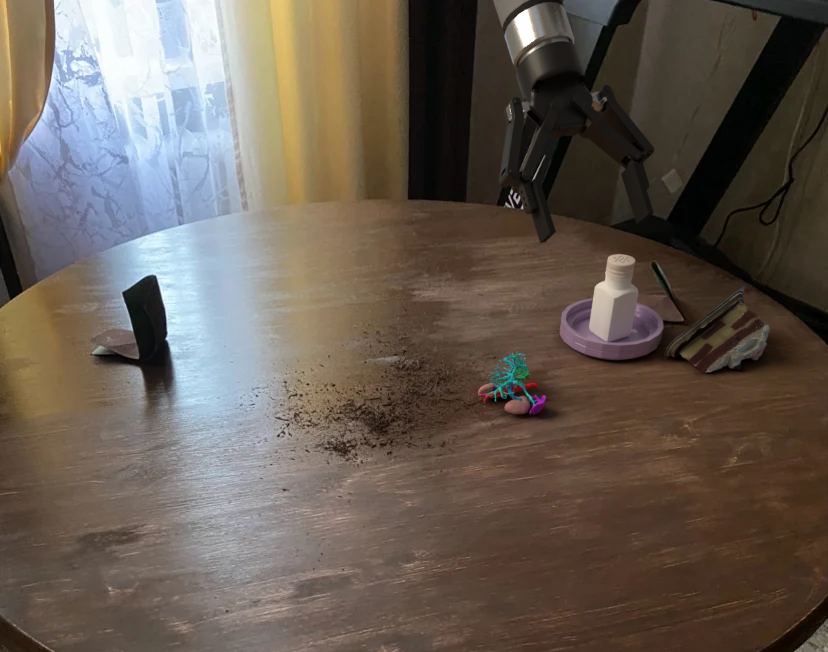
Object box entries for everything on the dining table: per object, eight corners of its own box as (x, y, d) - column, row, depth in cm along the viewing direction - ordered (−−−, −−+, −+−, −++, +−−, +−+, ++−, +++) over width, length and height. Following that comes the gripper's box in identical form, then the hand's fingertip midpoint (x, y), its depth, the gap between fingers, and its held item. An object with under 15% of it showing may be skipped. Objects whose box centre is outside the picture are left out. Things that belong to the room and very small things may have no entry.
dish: (657, 319, 107) (661, 301, 106) (661, 368, 98) (665, 348, 97) (561, 312, 109) (563, 294, 107) (556, 359, 100) (558, 340, 98)
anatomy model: (497, 394, 86) (554, 372, 87) (461, 359, 91) (515, 339, 93) (500, 434, 89) (555, 412, 91) (465, 398, 95) (517, 378, 96)
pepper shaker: (606, 344, 101) (618, 269, 95) (586, 330, 104) (596, 256, 98) (632, 337, 103) (646, 262, 96) (612, 323, 105) (624, 249, 99)
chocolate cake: (703, 390, 95) (787, 310, 92) (660, 350, 98) (741, 271, 95) (715, 409, 104) (794, 337, 100) (676, 372, 106) (751, 301, 103)
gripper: (616, 67, 107) (666, 225, 107) (440, 89, 100) (492, 259, 99) (649, 27, 100) (701, 196, 100) (461, 48, 93) (518, 231, 92)
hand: (597, 228), depth 100 cm, fingers open, 13 cm apart
